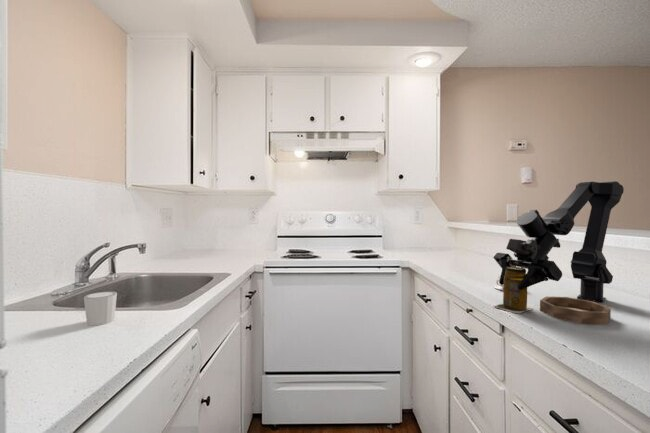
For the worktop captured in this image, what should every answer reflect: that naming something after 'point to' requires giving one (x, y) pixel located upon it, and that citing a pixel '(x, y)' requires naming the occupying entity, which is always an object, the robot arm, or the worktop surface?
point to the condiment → (514, 291)
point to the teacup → (499, 284)
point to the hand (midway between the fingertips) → (509, 286)
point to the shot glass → (100, 308)
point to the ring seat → (575, 310)
